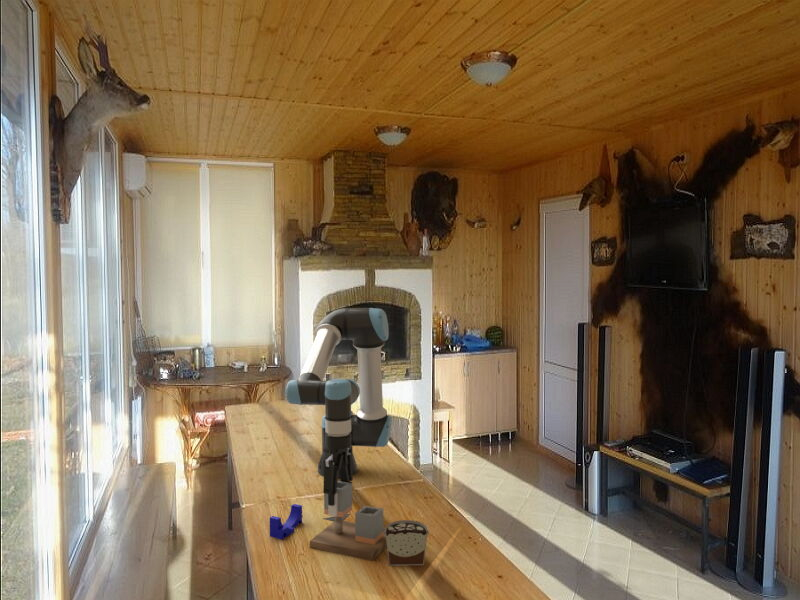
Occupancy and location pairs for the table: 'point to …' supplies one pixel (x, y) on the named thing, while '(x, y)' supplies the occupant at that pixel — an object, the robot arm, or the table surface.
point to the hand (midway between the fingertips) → (338, 511)
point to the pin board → (346, 541)
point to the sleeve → (341, 498)
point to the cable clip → (286, 523)
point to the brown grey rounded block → (406, 542)
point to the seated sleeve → (369, 525)
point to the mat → (334, 518)
